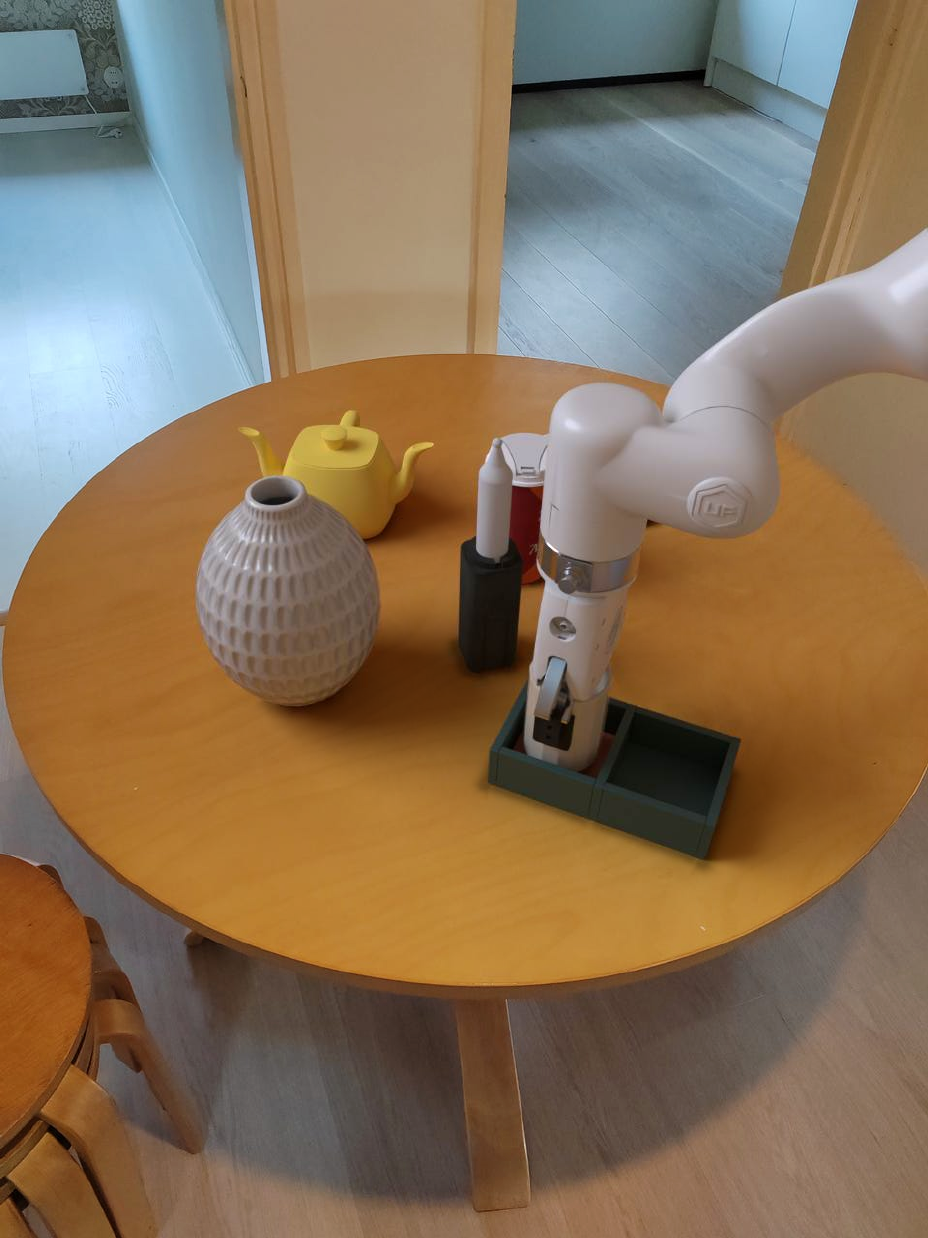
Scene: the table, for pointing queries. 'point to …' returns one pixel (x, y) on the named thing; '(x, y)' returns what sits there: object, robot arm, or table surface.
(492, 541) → the candle
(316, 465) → the teapot
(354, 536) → the vase
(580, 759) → the cup
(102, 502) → the table surface
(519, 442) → the coffee cup
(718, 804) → the organiser
